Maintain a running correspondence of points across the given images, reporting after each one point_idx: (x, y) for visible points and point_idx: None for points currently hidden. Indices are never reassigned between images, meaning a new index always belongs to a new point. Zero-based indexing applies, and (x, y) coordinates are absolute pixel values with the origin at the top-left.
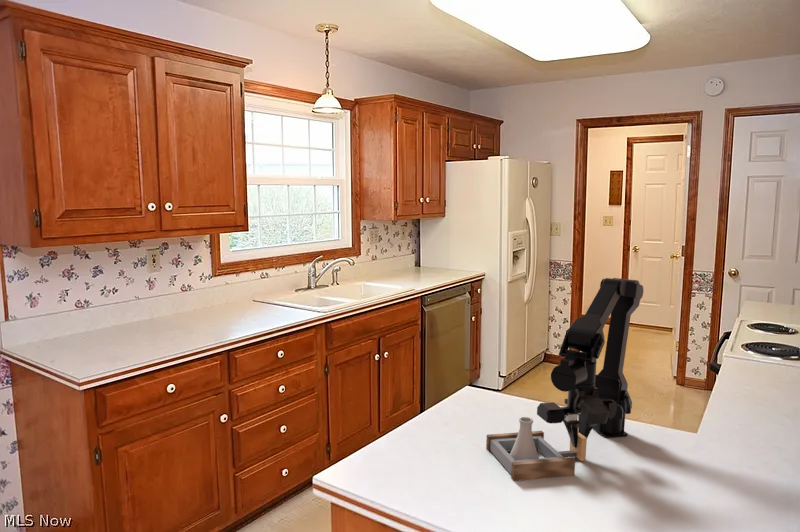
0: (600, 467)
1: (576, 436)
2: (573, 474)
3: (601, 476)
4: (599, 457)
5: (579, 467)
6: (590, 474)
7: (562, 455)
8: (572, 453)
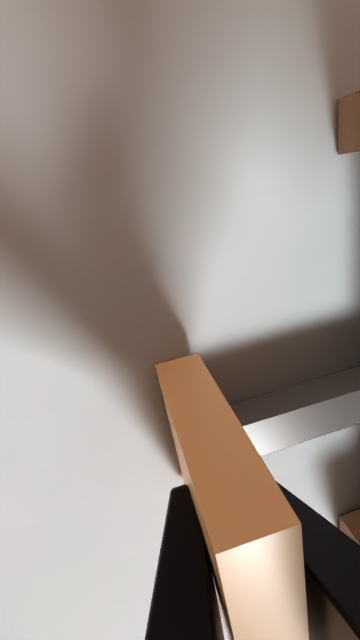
0: (45, 272)
1: (337, 570)
2: (352, 94)
3: (87, 65)
4: (7, 451)
5: (232, 261)
6: (186, 119)
7: (328, 388)
8: (253, 419)
